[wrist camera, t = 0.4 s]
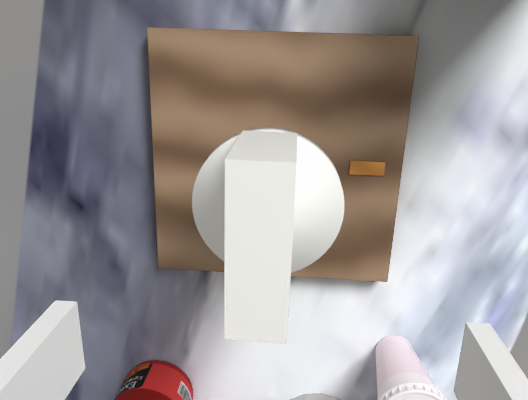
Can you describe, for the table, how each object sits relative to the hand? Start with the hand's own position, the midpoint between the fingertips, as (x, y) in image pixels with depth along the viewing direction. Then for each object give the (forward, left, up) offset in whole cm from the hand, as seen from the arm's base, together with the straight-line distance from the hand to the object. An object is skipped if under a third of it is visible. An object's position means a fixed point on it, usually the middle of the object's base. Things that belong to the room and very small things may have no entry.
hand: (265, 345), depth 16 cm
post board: (+1, -1, -29) cm, 29 cm away
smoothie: (+21, +12, -29) cm, 38 cm away
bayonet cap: (+1, -1, -17) cm, 17 cm away
